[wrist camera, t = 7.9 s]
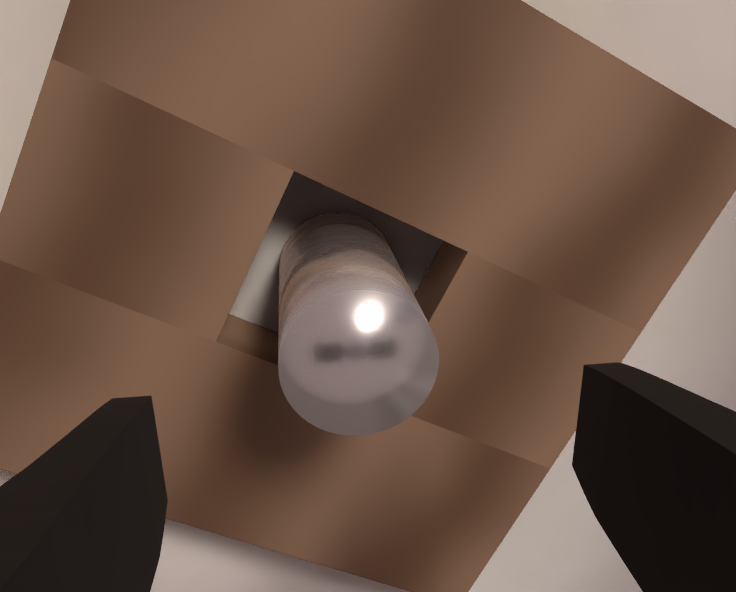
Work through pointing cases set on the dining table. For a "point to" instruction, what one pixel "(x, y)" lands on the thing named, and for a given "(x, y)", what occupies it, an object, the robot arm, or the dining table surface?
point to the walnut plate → (374, 188)
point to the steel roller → (350, 329)
